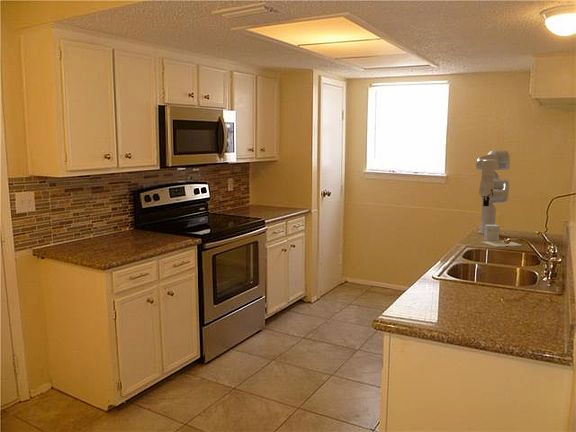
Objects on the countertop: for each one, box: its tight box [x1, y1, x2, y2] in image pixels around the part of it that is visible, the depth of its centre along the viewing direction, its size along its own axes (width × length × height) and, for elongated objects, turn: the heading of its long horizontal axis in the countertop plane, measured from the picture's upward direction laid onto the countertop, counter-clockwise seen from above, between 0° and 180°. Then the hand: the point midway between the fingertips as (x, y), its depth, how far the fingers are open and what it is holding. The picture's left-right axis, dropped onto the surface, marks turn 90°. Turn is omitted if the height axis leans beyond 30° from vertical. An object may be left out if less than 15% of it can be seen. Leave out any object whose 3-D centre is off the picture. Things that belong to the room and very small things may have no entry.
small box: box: [483, 224, 500, 242], centre depth 326 cm, size 8×6×10 cm
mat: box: [480, 240, 524, 248], centre depth 315 cm, size 15×19×1 cm
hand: (485, 206), depth 331 cm, fingers closed
